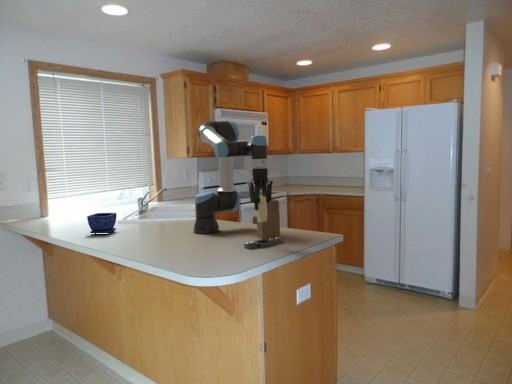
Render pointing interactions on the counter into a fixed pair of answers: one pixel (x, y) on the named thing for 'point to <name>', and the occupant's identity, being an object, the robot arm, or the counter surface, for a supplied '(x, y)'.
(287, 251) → the counter surface
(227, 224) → the counter surface
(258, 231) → the wooden block
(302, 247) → the counter surface
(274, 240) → the ball-studded metal bracket
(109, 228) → the flower pot
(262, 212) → the pin
